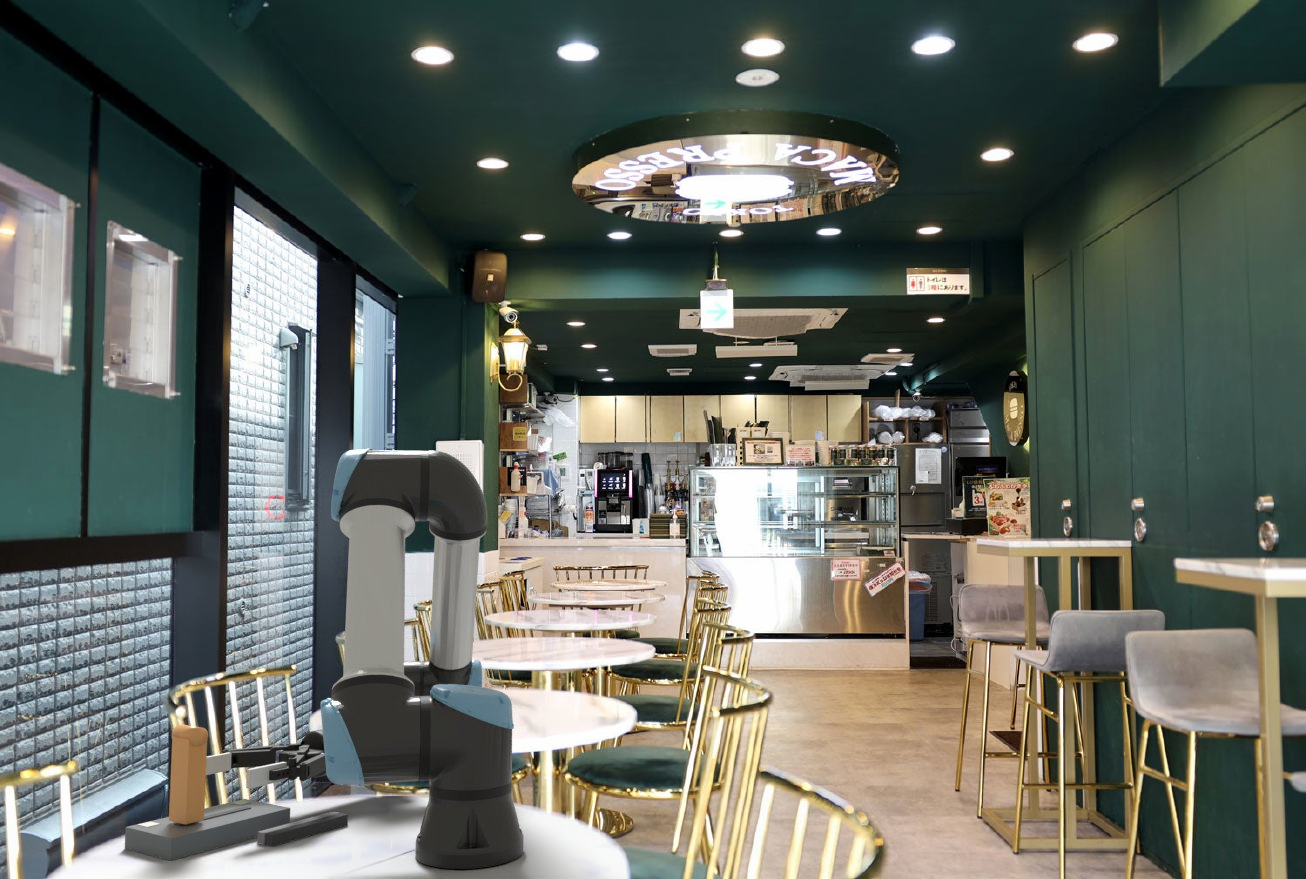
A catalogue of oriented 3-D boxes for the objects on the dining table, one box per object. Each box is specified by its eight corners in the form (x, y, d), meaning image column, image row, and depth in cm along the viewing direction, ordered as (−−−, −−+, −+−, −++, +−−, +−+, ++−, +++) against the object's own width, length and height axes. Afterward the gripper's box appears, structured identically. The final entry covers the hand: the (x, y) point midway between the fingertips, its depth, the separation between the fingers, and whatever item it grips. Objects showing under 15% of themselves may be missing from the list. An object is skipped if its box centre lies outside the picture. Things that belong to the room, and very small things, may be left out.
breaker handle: (206, 820, 154) (209, 726, 156) (187, 824, 152) (191, 729, 153) (185, 815, 157) (189, 723, 158) (166, 820, 155) (170, 725, 156)
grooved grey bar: (347, 824, 165) (347, 814, 165) (272, 846, 153) (272, 835, 153) (332, 821, 167) (333, 811, 167) (257, 842, 155) (257, 831, 155)
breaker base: (289, 827, 163) (290, 806, 163) (170, 860, 146) (171, 836, 146) (244, 818, 169) (244, 797, 169) (124, 848, 152) (125, 825, 152)
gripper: (382, 782, 171) (271, 809, 153) (282, 765, 184) (170, 788, 167) (383, 734, 172) (273, 756, 154) (284, 721, 185) (172, 740, 167)
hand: (219, 773), depth 160 cm, fingers open, 13 cm apart
